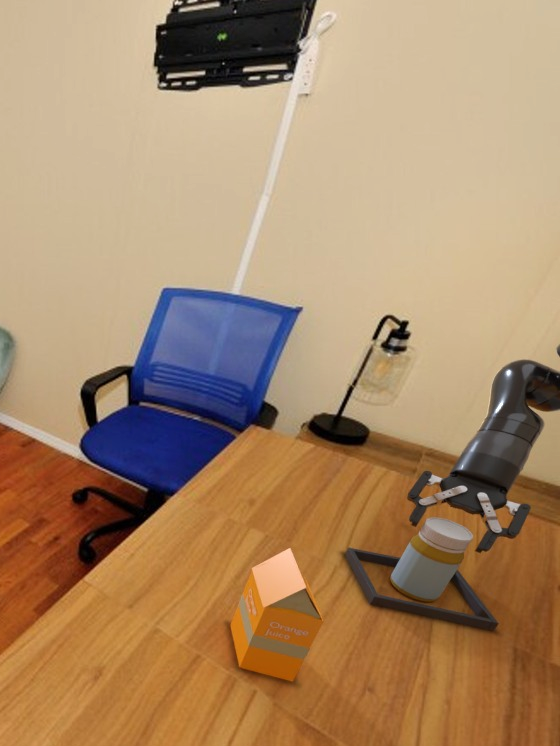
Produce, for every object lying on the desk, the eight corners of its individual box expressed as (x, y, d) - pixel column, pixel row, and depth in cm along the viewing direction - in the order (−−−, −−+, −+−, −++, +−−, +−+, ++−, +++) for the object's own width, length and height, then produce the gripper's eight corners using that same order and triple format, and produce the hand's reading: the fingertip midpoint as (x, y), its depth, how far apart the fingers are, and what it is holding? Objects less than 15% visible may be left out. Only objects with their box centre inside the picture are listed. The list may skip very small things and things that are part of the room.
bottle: (401, 600, 94) (438, 538, 87) (380, 572, 100) (413, 513, 93) (446, 607, 92) (487, 544, 86) (422, 578, 98) (459, 518, 92)
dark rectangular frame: (450, 578, 99) (456, 568, 98) (491, 633, 88) (499, 623, 87) (343, 556, 105) (348, 547, 104) (368, 606, 94) (374, 596, 92)
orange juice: (278, 639, 88) (318, 553, 78) (292, 684, 80) (338, 595, 71) (228, 627, 90) (261, 541, 81) (237, 670, 83) (274, 581, 73)
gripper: (440, 438, 93) (395, 511, 92) (556, 472, 83) (507, 555, 82) (435, 452, 98) (392, 522, 97) (543, 486, 88) (497, 565, 87)
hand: (445, 537), depth 90 cm, fingers open, 8 cm apart
